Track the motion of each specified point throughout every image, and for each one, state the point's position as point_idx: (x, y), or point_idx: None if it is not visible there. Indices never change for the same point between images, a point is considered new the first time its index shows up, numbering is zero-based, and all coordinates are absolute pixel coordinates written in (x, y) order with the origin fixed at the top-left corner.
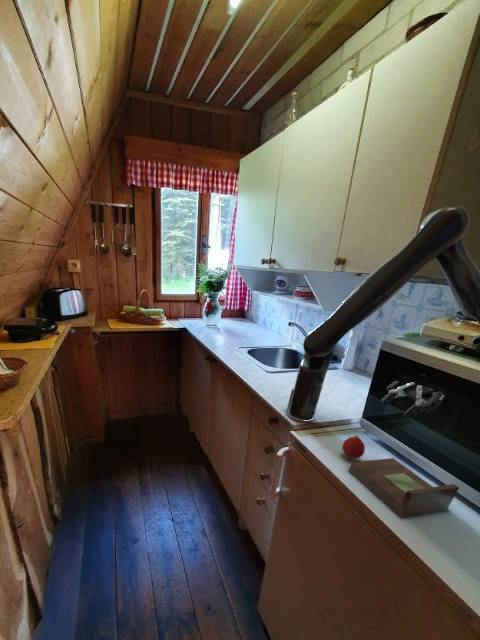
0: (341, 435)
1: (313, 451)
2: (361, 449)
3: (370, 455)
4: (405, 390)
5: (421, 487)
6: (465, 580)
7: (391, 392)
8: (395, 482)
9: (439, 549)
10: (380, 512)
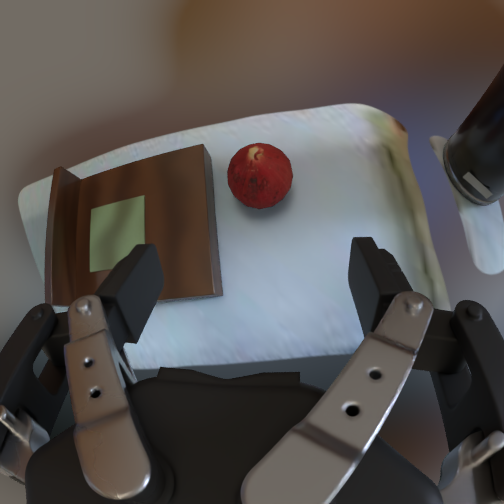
0: (394, 244)
1: (293, 112)
2: (228, 174)
3: (280, 272)
4: (310, 390)
5: (99, 265)
6: (24, 208)
7: (396, 297)
8: (120, 208)
9: (46, 210)
10: (104, 161)
